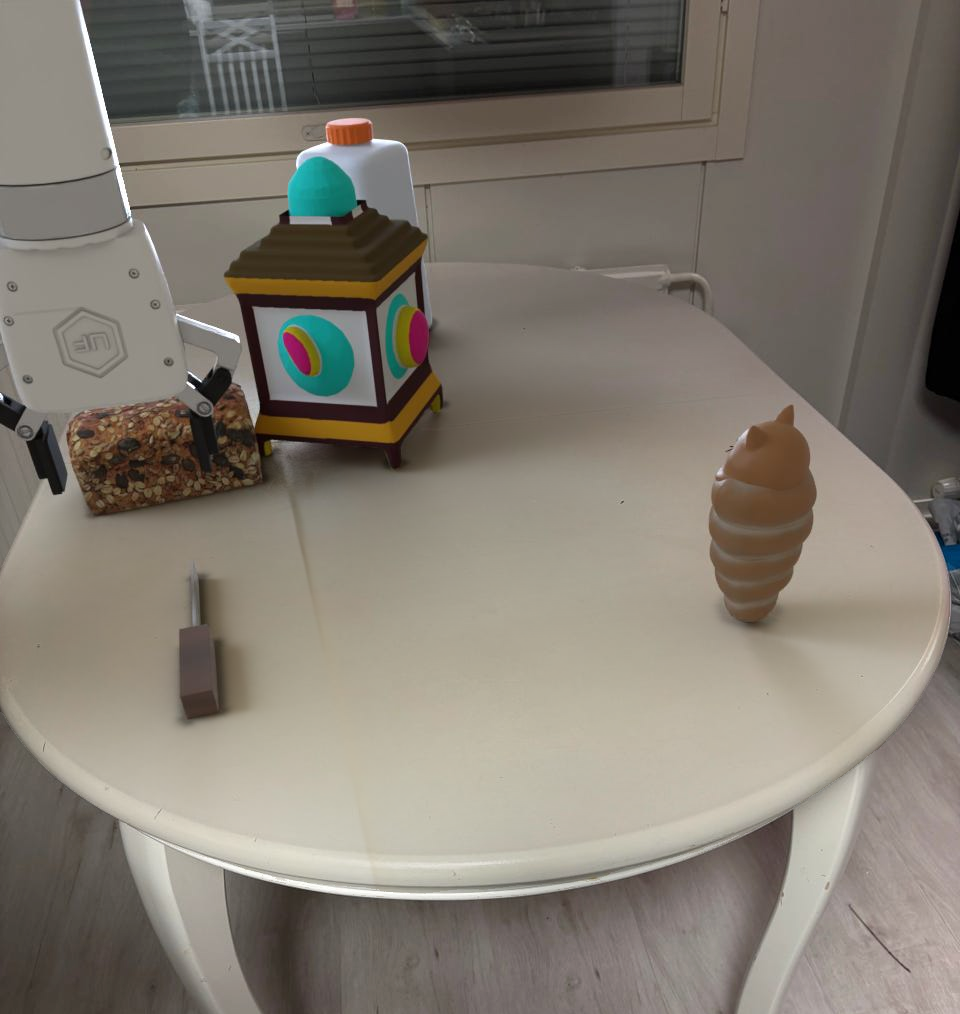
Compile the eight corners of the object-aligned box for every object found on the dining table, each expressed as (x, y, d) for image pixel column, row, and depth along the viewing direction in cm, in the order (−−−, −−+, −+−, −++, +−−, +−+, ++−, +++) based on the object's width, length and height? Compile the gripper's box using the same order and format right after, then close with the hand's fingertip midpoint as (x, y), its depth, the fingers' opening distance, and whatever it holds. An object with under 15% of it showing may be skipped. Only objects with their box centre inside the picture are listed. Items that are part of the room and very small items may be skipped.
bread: (255, 451, 111) (238, 368, 105) (268, 491, 103) (250, 403, 97) (88, 481, 107) (61, 397, 101) (88, 526, 99) (58, 436, 93)
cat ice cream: (738, 578, 85) (763, 385, 75) (816, 613, 81) (855, 412, 70) (675, 620, 81) (693, 421, 70) (754, 660, 76) (786, 452, 65)
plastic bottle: (301, 345, 139) (265, 130, 122) (360, 313, 149) (335, 110, 132) (388, 360, 132) (363, 134, 116) (443, 325, 143) (428, 113, 126)
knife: (221, 720, 74) (212, 690, 72) (189, 726, 73) (179, 696, 71) (211, 583, 89) (204, 556, 87) (185, 588, 89) (177, 560, 87)
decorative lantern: (458, 405, 119) (440, 136, 101) (407, 479, 104) (376, 178, 86) (309, 396, 124) (267, 137, 105) (240, 465, 108) (177, 177, 90)
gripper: (-118, 238, 51) (-7, 521, 61) (215, 206, 54) (266, 480, 64) (-89, 206, 56) (8, 469, 67) (210, 179, 60) (258, 434, 70)
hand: (134, 474), depth 65 cm, fingers open, 9 cm apart
